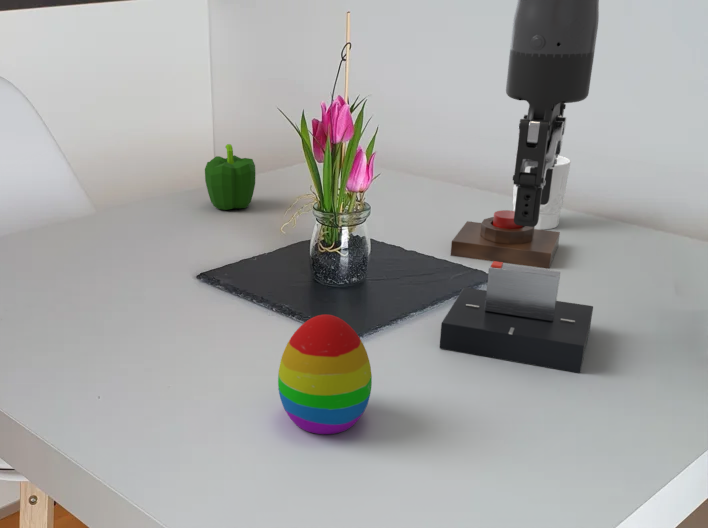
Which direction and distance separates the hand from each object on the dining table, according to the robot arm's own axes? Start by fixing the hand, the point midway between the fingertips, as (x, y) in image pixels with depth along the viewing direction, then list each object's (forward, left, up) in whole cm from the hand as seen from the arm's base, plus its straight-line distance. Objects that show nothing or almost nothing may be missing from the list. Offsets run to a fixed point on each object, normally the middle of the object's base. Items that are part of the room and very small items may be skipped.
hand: (531, 213), depth 84 cm
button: (+6, -29, -10) cm, 32 cm away
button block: (+6, -29, -14) cm, 33 cm away
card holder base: (0, 0, -14) cm, 14 cm away
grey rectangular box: (0, 0, -11) cm, 11 cm away
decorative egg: (+13, +24, -14) cm, 31 cm away
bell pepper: (+51, -34, -14) cm, 63 cm away
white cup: (+4, -44, -14) cm, 47 cm away
